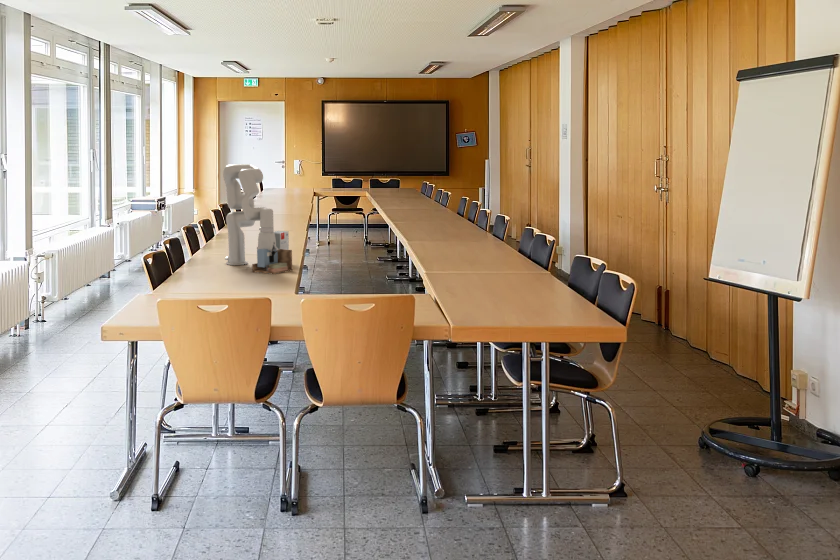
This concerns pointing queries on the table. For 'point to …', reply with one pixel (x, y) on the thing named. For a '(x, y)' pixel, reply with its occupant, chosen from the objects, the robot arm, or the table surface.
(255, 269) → the shelf
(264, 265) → the book
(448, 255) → the table surface
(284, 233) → the hard drive box
